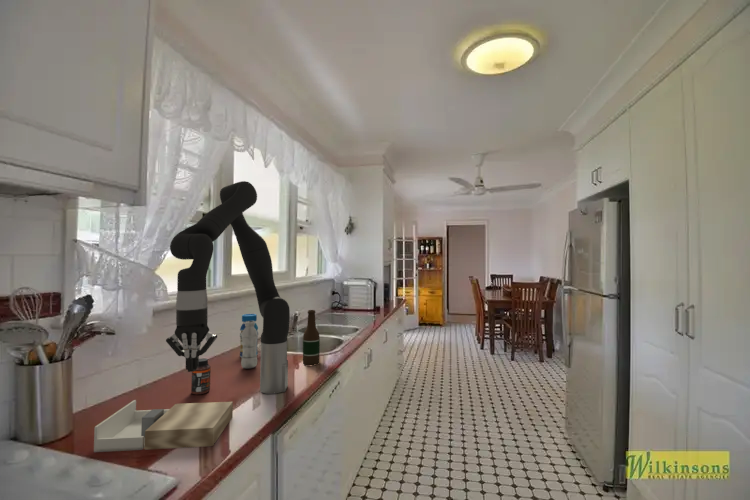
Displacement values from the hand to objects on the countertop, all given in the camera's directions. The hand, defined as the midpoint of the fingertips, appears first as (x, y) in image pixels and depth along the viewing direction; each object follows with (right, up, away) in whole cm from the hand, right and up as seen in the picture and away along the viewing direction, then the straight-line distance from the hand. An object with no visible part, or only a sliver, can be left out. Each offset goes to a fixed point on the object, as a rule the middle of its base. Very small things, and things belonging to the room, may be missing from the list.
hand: (192, 370), depth 93 cm
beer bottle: (+21, -19, +61) cm, 67 cm away
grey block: (-8, -13, -1) cm, 16 cm away
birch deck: (0, -17, 0) cm, 17 cm away
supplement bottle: (-12, -18, +28) cm, 35 cm away
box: (-14, -16, -2) cm, 21 cm away
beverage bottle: (-12, -19, +73) cm, 76 cm away
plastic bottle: (-5, -18, +55) cm, 58 cm away
